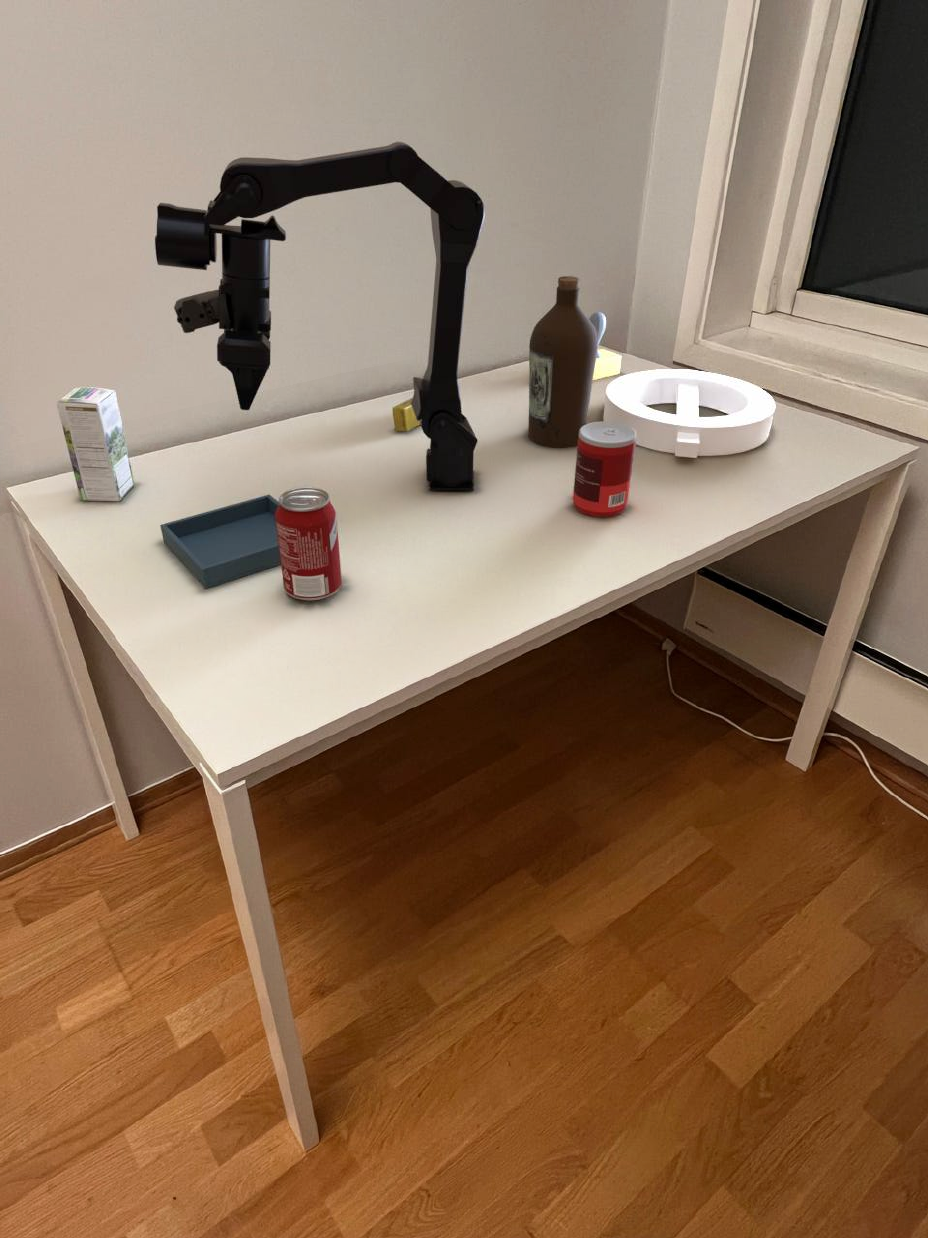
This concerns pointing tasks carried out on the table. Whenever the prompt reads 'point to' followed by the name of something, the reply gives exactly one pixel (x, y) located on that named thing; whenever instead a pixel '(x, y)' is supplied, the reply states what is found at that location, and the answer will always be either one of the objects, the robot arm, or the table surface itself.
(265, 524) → the tray
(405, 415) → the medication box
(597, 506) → the canned food
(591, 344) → the olive oil
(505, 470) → the table surface
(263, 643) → the table surface
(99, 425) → the syrup box
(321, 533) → the soda can
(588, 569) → the table surface
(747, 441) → the ring with crossbar
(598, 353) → the rubber stamp
